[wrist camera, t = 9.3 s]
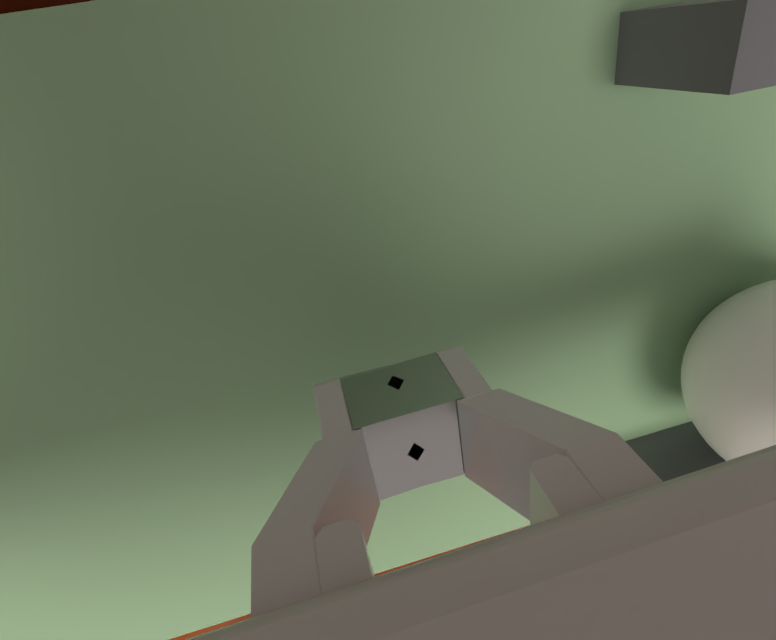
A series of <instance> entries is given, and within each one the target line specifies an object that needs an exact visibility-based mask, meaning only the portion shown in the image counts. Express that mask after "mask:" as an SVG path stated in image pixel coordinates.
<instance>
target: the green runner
mask: <svg viewBox="0 0 776 640" xmlns="http://www.w3.org/2000/svg"><path fill="white" fill-rule="evenodd" d="M683 1H689V0H94V1H87V2H80V3H73V4H66V5H60V6H53V7H46V8H39V9H32V10H26V11H19V12H12V13H5V14H0V640H168V639H172V638H175V637H178V636H181V635H184V634H187V633H190V632H194V631H197V630H200V629H203V628H206V627H209V626H212V625H216V624H219V623H222V622H225V621H228V620H231V619H235V618H238V617H241V616H244V615H247V614H250V613H251V546H252V544H253V543H254V541H255V539H256V538H257V536H258V535H259V533H260V531H261V530H262V528H263V526H264V525H265V523H266V521H267V520H268V518H269V517H270V515H271V513H272V512H273V510H274V508H275V507H276V505H277V503H278V502H279V500H280V499H281V497H282V495H283V494H284V492H285V490H286V489H287V487H288V485H289V484H290V482H291V481H292V479H293V477H294V476H295V474H296V472H297V471H298V469H299V467H300V466H301V464H302V462H303V461H304V459H305V458H306V456H307V454H308V453H309V451H310V449H311V448H312V446H313V444H314V443H315V442H316V441H320V440H323V439H322V434H321V428H320V423H319V417H318V411H317V406H316V400H315V394H314V384H318V383H321V382H325V381H329V380H332V379H336V378H338V379H339V380H340V377H344V376H347V375H351V374H355V373H359V372H363V371H367V370H371V369H375V368H379V367H383V366H387V365H388V366H389V365H392V364H396V363H399V362H403V361H406V360H410V359H413V358H417V357H420V356H424V355H427V354H431V353H434V352H435V351H438V350H442V349H445V348H448V347H451V346H455V345H459V346H461V347H462V349H463V350H464V351H465V353H466V354H467V356H468V357H469V358H470V360H471V361H472V363H473V364H474V365H475V367H476V368H477V370H478V371H479V372H480V374H481V375H482V377H483V378H484V379H485V381H486V382H487V384H488V385H489V386H490V388H491V389H492V390H495V389H502V390H505V391H507V392H510V393H513V394H515V395H518V396H521V397H523V398H526V399H529V400H531V401H534V402H536V403H539V404H542V405H544V406H547V407H550V408H552V409H555V410H558V411H560V412H563V413H565V414H568V415H571V416H573V417H576V418H579V419H581V420H584V421H587V422H589V423H592V424H594V425H597V426H600V427H602V428H605V429H608V430H610V431H613V432H616V433H617V434H618V435H619V436H620V437H621V438H622V439H623V440H624V441H627V440H631V439H634V438H637V437H641V436H644V435H647V434H651V433H654V432H657V431H661V430H664V429H667V428H670V427H674V426H677V425H680V424H684V423H687V422H690V421H692V420H691V418H690V416H689V413H688V411H687V409H686V406H685V402H684V398H683V395H682V388H681V366H682V361H683V356H684V353H685V350H686V347H687V345H688V342H689V340H690V338H691V336H692V335H693V333H694V331H695V330H696V328H697V327H698V325H699V324H700V323H701V321H702V320H703V319H704V318H705V317H706V316H707V315H708V314H709V313H710V312H711V311H712V310H713V309H714V308H716V307H717V306H718V305H719V304H721V303H722V302H724V301H725V300H727V299H728V298H730V297H732V296H733V295H735V294H737V293H739V292H741V291H743V290H745V289H747V288H750V287H752V286H755V285H758V284H761V283H764V282H767V281H771V280H776V86H772V87H767V88H762V89H757V90H752V91H747V92H743V93H738V94H733V95H722V94H711V93H700V92H689V91H678V90H667V89H656V88H645V87H634V86H623V85H614V83H615V71H616V59H617V47H618V35H619V23H620V12H625V11H631V10H637V9H643V8H648V7H654V6H660V5H666V4H672V3H677V2H683ZM340 384H341V382H340ZM341 387H342V386H341ZM342 391H343V390H342ZM343 395H344V394H343ZM344 399H345V398H344ZM345 402H346V401H345ZM346 406H347V405H346ZM347 410H348V409H347ZM528 525H530V521H529V520H528V519H526V518H525V517H524V516H522V515H521V514H519V513H518V512H516V511H515V510H513V509H512V508H510V507H509V506H508V505H506V504H505V503H503V502H502V501H500V500H499V499H497V498H496V497H494V496H493V495H492V494H490V493H489V492H487V491H486V490H484V489H483V488H481V487H480V486H478V485H477V484H476V483H474V482H473V481H471V480H470V479H468V478H467V477H465V474H464V475H461V476H457V477H453V478H450V479H446V480H443V481H439V482H436V483H432V484H429V485H425V486H421V487H418V488H416V489H413V490H410V491H407V492H404V493H401V494H398V495H395V496H392V497H389V498H386V499H383V500H380V506H379V509H378V512H377V516H376V519H375V522H374V525H373V528H372V531H371V535H370V538H369V541H368V544H367V551H368V554H369V558H370V561H371V565H372V568H373V572H374V574H376V573H380V572H383V571H386V570H389V569H392V568H395V567H398V566H402V565H405V564H408V563H411V562H414V561H417V560H420V559H424V558H427V557H430V556H433V555H436V554H439V553H443V552H446V551H449V550H452V549H455V548H458V547H461V546H465V545H468V544H471V543H474V542H477V541H480V540H483V539H487V538H490V537H493V536H496V535H499V534H502V533H506V532H509V531H512V530H515V529H518V528H521V527H524V526H528Z"/></svg>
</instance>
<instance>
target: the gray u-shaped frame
mask: <svg viewBox="0 0 776 640" xmlns="http://www.w3.org/2000/svg"><path fill="white" fill-rule="evenodd" d="M614 85H623V86H634V87H645V88H656V89H667V90H678V91H689V92H700V93H711V94H722V95H733V94H738V93H743V92H747V91H752V90H757V89H762V88H767V87H772V86H776V0H689V1H683V2H677V3H672V4H666V5H660V6H654V7H648V8H643V9H637V10H631V11H625V12H620V23H619V35H618V47H617V59H616V71H615V83H614ZM625 442H626V443H627V444H628V445H629V446H630V447H631V448H632V449H633V450H634V452H635V453H636V454H637V455H638V456H639V457H640V458H641V459H642V460H643V461H644V462H645V463H646V464H647V465H648V466H649V467H650V468H651V469H652V471H653V472H654V473H655V474H656V475H657V476H658V477H659V478H660V479H661V480H662V481H663V482H664V481H667V480H670V479H673V478H676V477H679V476H682V475H685V474H688V473H692V472H695V471H698V470H701V469H704V468H707V467H710V466H713V465H716V464H719V463H722V462H725V461H726V460H724V459H723V458H722V457H721V456H720V455H718V454H717V453H716V452H715V451H714V450H713V449H712V448H711V447H710V446H709V445H708V443H707V442H706V441H705V440H704V438H703V437H702V436H701V435H700V433H699V432H698V430H697V429H696V427H695V425H694V424H693V422H692V421H690V422H687V423H684V424H680V425H677V426H674V427H670V428H667V429H664V430H661V431H657V432H654V433H651V434H647V435H644V436H641V437H637V438H634V439H631V440H627V441H625Z"/></svg>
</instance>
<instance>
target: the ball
mask: <svg viewBox="0 0 776 640" xmlns="http://www.w3.org/2000/svg"><path fill="white" fill-rule="evenodd" d="M681 388H682V395H683V398H684V402H685V406H686V409H687V411H688V413H689V416H690V418H691V420H692V422H693V424H694V425H695V427H696V429H697V430H698V432H699V433H700V435H701V436H702V437H703V438H704V440H705V441H706V442H707V443H708V445H709V446H710V447H711V448H712V449H713V450H714V451H715V452H716V453H717V454H718V455H720V456H721V457H722V458H723V459H724V460H726V461H728V460H731V459H734V458H737V457H740V456H743V455H746V454H749V453H752V452H755V451H758V450H761V449H764V448H767V447H770V446H773V445H776V280H771V281H767V282H764V283H761V284H758V285H755V286H752V287H750V288H747V289H745V290H743V291H741V292H739V293H737V294H735V295H733V296H732V297H730V298H728V299H727V300H725V301H724V302H722V303H721V304H719V305H718V306H717V307H716V308H714V309H713V310H712V311H711V312H710V313H709V314H708V315H707V316H706V317H705V318H704V319H703V320H702V321H701V323H700V324H699V325H698V327H697V328H696V330H695V331H694V333H693V335H692V336H691V338H690V340H689V342H688V345H687V347H686V350H685V353H684V356H683V361H682V366H681Z"/></svg>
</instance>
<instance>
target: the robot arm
mask: <svg viewBox="0 0 776 640" xmlns="http://www.w3.org/2000/svg"><path fill="white" fill-rule="evenodd" d="M340 382H341V384H340ZM341 386H342V387H341ZM342 390H343V391H342ZM314 394H315V400H316V406H317V411H318V417H319V423H320V428H321V434H322V439H323V440H320V441H316V442H315V443H314V444H313V446H312V448H311V449H310V451H309V453H308V454H307V456H306V458H305V459H304V461H303V462H302V464H301V466H300V467H299V469H298V471H297V472H296V474H295V476H294V477H293V479H292V481H291V482H290V484H289V485H288V487H287V489H286V490H285V492H284V494H283V495H282V497H281V499H280V500H279V502H278V503H277V505H276V507H275V508H274V510H273V512H272V513H271V515H270V517H269V518H268V520H267V521H266V523H265V525H264V526H263V528H262V530H261V531H260V533H259V535H258V536H257V538H256V539H255V541H254V543H253V544H252V546H251V618H249V619H246V620H243V621H240V622H237V623H234V624H231V625H228V626H225V627H222V628H219V629H216V630H213V631H210V632H207V633H204V634H201V635H198V636H195V637H192V638H189V639H186V640H776V445H773V446H770V447H767V448H764V449H761V450H758V451H755V452H752V453H749V454H746V455H743V456H740V457H737V458H734V459H731V460H728V461H725V462H722V463H719V464H716V465H713V466H710V467H707V468H704V469H701V470H698V471H695V472H692V473H688V474H685V475H682V476H679V477H676V478H673V479H670V480H667V481H664V482H663V481H662V480H661V479H660V478H659V477H658V476H657V475H656V474H655V473H654V472H653V471H652V469H651V468H650V467H649V466H648V465H647V464H646V463H645V462H644V461H643V460H642V459H641V458H640V457H639V456H638V455H637V454H636V453H635V452H634V450H633V449H632V448H631V447H630V446H629V445H628V444H627V443H626V442H625V441H624V440H623V439H622V438H621V437H620V436H619V435H618V434H617V433H616V432H613V431H610V430H608V429H605V428H602V427H600V426H597V425H594V424H592V423H589V422H587V421H584V420H581V419H579V418H576V417H573V416H571V415H568V414H565V413H563V412H560V411H558V410H555V409H552V408H550V407H547V406H544V405H542V404H539V403H536V402H534V401H531V400H529V399H526V398H523V397H521V396H518V395H515V394H513V393H510V392H507V391H505V390H502V389H495V390H492V389H491V388H490V386H489V385H488V384H487V382H486V381H485V379H484V378H483V377H482V375H481V374H480V372H479V371H478V370H477V368H476V367H475V365H474V364H473V363H472V361H471V360H470V358H469V357H468V356H467V354H466V353H465V351H464V350H463V349H462V347H461V346H459V345H455V346H451V347H448V348H445V349H442V350H438V351H435V352H434V353H431V354H427V355H424V356H420V357H417V358H413V359H410V360H406V361H403V362H399V363H396V364H392V365H389V366H388V365H387V366H383V367H379V368H375V369H371V370H367V371H363V372H359V373H355V374H351V375H347V376H344V377H340V380H339V379H338V378H336V379H332V380H329V381H325V382H321V383H318V384H314ZM343 394H344V395H343ZM344 398H345V399H344ZM345 401H346V402H345ZM346 405H347V406H346ZM347 409H348V410H347ZM464 474H465V477H467V478H468V479H470V480H471V481H473V482H474V483H476V484H477V485H478V486H480V487H481V488H483V489H484V490H486V491H487V492H489V493H490V494H492V495H493V496H494V497H496V498H497V499H499V500H500V501H502V502H503V503H505V504H506V505H508V506H509V507H510V508H512V509H513V510H515V511H516V512H518V513H519V514H521V515H522V516H524V517H525V518H526V519H528V520H529V521H530V526H528V527H525V528H522V529H519V530H516V531H513V532H510V533H507V534H504V535H501V536H498V537H494V538H491V539H488V540H485V541H482V542H479V543H476V544H473V545H470V546H467V547H464V548H461V549H458V550H455V551H452V552H449V553H446V554H443V555H440V556H437V557H434V558H431V559H428V560H425V561H422V562H419V563H416V564H413V565H410V566H407V567H404V568H401V569H398V570H395V571H392V572H389V573H386V574H383V575H380V576H377V577H375V575H374V572H373V568H372V565H371V561H370V558H369V554H368V551H367V544H368V541H369V538H370V535H371V531H372V528H373V525H374V522H375V519H376V516H377V512H378V509H379V506H380V500H383V499H386V498H389V497H392V496H395V495H398V494H401V493H404V492H407V491H410V490H413V489H416V488H418V487H421V486H425V485H429V484H432V483H436V482H439V481H443V480H446V479H450V478H453V477H457V476H461V475H464Z"/></svg>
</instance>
